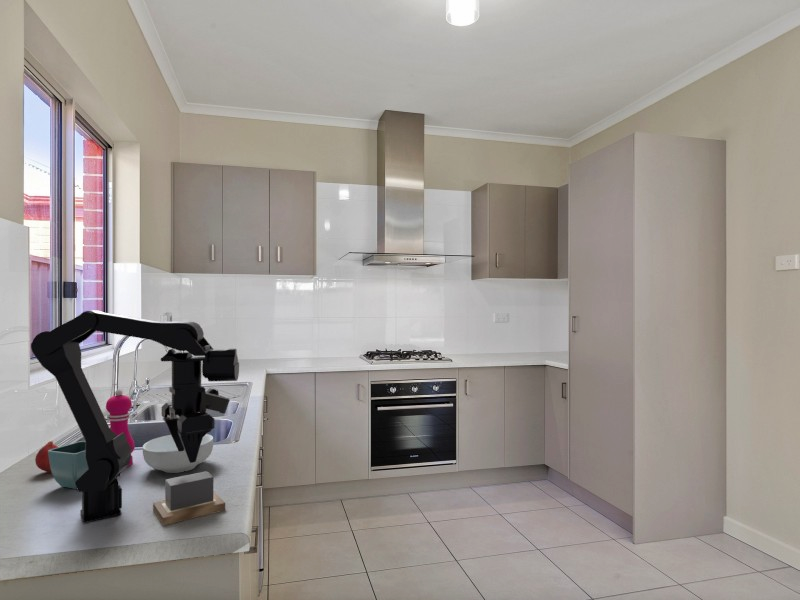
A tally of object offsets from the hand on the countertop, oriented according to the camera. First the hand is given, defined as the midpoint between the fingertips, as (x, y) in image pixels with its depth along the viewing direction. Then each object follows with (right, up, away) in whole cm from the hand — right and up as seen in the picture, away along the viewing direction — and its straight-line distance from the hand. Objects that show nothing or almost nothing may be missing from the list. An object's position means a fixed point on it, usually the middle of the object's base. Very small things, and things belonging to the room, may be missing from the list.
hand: (186, 456), depth 106 cm
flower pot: (-31, -11, +14) cm, 36 cm away
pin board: (+1, -11, -1) cm, 11 cm away
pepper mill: (-30, -11, +28) cm, 42 cm away
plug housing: (+1, -9, -1) cm, 9 cm away
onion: (-44, -11, +22) cm, 50 cm away
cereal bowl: (-13, -11, +26) cm, 31 cm away
